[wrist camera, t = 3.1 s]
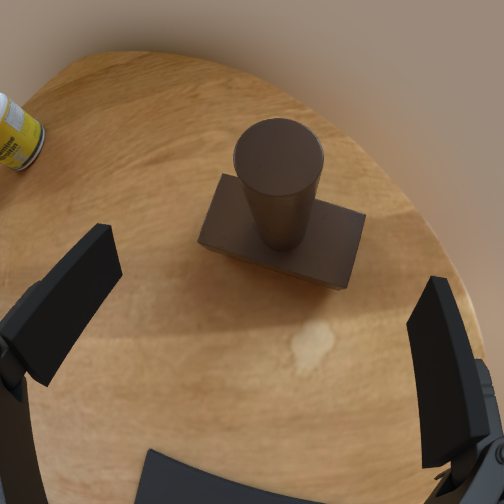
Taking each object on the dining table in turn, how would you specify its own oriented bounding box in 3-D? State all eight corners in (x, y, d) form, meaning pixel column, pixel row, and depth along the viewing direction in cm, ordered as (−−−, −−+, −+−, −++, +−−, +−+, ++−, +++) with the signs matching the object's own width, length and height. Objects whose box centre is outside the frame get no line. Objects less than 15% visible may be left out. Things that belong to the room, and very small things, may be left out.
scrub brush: (353, 228, 23) (427, 139, 9) (336, 291, 23) (407, 272, 9) (231, 192, 25) (175, 79, 11) (210, 252, 24) (122, 187, 10)
